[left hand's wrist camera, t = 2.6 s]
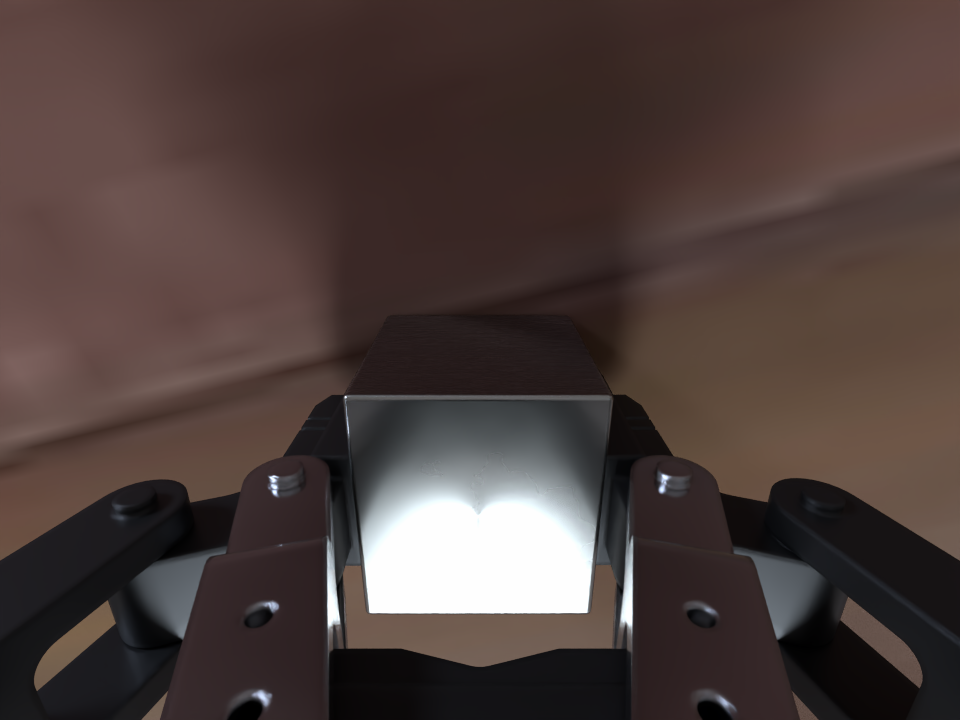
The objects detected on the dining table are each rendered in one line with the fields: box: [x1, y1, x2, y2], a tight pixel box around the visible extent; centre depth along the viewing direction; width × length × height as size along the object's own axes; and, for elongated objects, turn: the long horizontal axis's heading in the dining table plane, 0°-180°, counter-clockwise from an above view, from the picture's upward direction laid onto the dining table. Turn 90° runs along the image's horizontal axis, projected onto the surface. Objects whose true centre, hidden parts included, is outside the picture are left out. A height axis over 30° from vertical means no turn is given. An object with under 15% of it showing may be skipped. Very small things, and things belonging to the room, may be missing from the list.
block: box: [343, 316, 613, 614], centre depth 11 cm, size 4×4×4 cm
